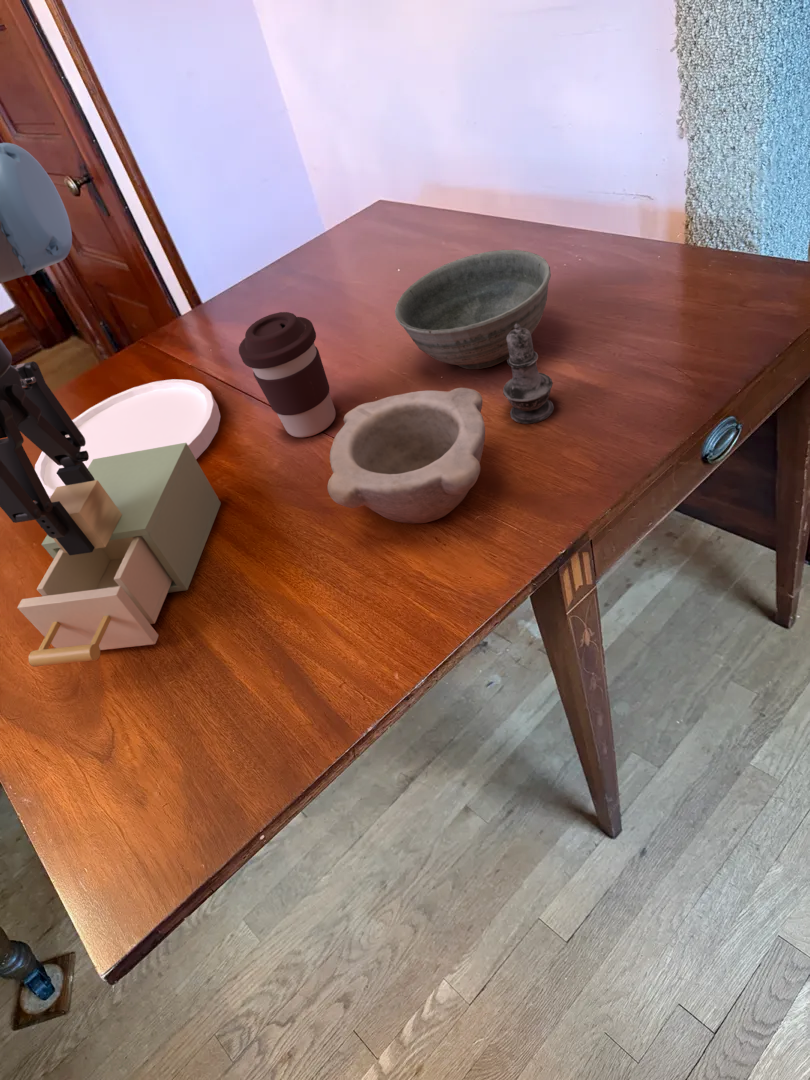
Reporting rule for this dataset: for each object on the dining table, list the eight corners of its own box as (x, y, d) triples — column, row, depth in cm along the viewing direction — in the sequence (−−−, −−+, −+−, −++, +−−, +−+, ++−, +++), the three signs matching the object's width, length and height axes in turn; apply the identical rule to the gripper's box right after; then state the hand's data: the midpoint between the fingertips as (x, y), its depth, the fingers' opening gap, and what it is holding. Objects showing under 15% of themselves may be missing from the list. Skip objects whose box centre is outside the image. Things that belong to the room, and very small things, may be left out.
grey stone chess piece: (555, 393, 93) (542, 305, 85) (556, 421, 88) (543, 331, 80) (508, 400, 94) (491, 314, 86) (507, 428, 90) (489, 341, 82)
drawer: (138, 686, 74) (96, 637, 69) (40, 695, 77) (-8, 649, 72) (192, 551, 87) (160, 502, 82) (106, 563, 90) (70, 516, 85)
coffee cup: (267, 447, 101) (220, 351, 91) (291, 404, 108) (249, 310, 98) (334, 442, 98) (292, 341, 88) (354, 398, 104) (318, 300, 94)
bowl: (553, 387, 94) (542, 315, 87) (397, 402, 101) (376, 337, 94) (565, 304, 107) (556, 236, 101) (427, 323, 114) (411, 261, 108)
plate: (242, 446, 103) (234, 432, 101) (50, 542, 99) (40, 528, 97) (197, 371, 124) (190, 358, 122) (37, 448, 119) (28, 435, 117)
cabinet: (187, 590, 84) (144, 528, 78) (89, 602, 87) (41, 544, 81) (221, 503, 95) (186, 442, 88) (133, 517, 98) (93, 459, 91)
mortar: (494, 543, 77) (477, 475, 71) (340, 556, 81) (312, 494, 75) (501, 443, 88) (487, 377, 82) (367, 459, 93) (344, 398, 87)
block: (105, 547, 77) (79, 512, 74) (64, 553, 78) (36, 519, 75) (122, 514, 81) (97, 479, 77) (82, 520, 82) (56, 486, 79)
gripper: (-76, 392, 57) (91, 592, 72) (28, 282, 69) (150, 472, 85) (-153, 409, 58) (25, 600, 74) (-38, 299, 71) (93, 482, 87)
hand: (92, 531), depth 79 cm, fingers closed on block, 5 cm apart
